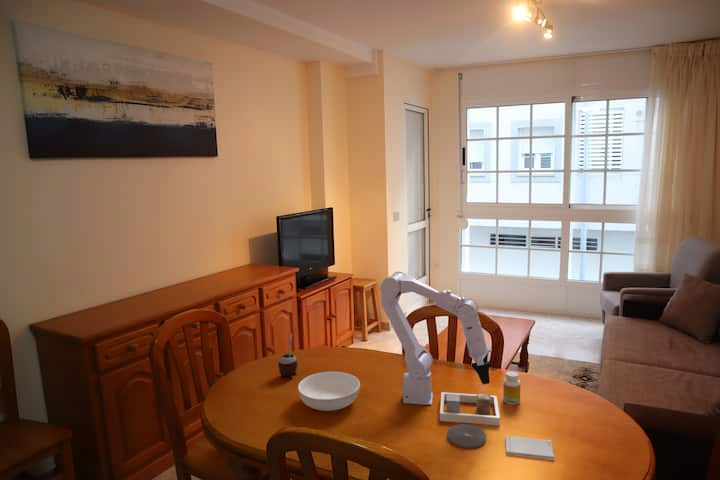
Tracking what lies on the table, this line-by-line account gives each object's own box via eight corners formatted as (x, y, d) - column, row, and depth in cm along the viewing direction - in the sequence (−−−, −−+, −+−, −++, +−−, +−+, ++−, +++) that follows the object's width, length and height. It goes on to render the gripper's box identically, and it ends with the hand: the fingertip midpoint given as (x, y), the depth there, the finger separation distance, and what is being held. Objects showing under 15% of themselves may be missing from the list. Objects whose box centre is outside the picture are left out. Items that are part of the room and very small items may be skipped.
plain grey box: (446, 416, 155) (446, 400, 154) (446, 410, 159) (446, 394, 158) (459, 417, 154) (459, 401, 153) (459, 411, 158) (459, 395, 157)
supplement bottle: (520, 405, 160) (521, 377, 159) (503, 404, 161) (504, 376, 160) (519, 397, 165) (519, 370, 164) (502, 396, 167) (503, 369, 165)
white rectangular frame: (439, 420, 153) (439, 413, 152) (441, 399, 166) (441, 392, 166) (499, 425, 149) (499, 417, 149) (496, 402, 162) (496, 395, 162)
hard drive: (550, 439, 139) (505, 434, 142) (554, 456, 131) (506, 451, 134) (550, 445, 139) (505, 439, 142) (554, 462, 132) (506, 456, 135)
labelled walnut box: (477, 415, 155) (477, 399, 154) (476, 409, 159) (476, 393, 158) (490, 416, 154) (490, 399, 153) (489, 410, 158) (489, 393, 157)
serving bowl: (373, 401, 166) (372, 382, 165) (328, 427, 151) (327, 406, 150) (330, 383, 180) (330, 365, 179) (286, 405, 165) (284, 386, 164)
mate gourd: (283, 382, 182) (281, 343, 179) (275, 374, 189) (273, 337, 186) (301, 377, 186) (299, 339, 183) (293, 369, 192) (291, 333, 190)
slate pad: (446, 446, 139) (446, 443, 139) (447, 425, 150) (447, 422, 149) (486, 450, 137) (486, 446, 137) (484, 428, 147) (484, 425, 147)
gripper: (488, 342, 147) (500, 385, 147) (486, 328, 161) (496, 368, 162) (465, 347, 148) (476, 389, 149) (465, 333, 162) (475, 372, 163)
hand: (485, 378), depth 155 cm, fingers open, 7 cm apart
